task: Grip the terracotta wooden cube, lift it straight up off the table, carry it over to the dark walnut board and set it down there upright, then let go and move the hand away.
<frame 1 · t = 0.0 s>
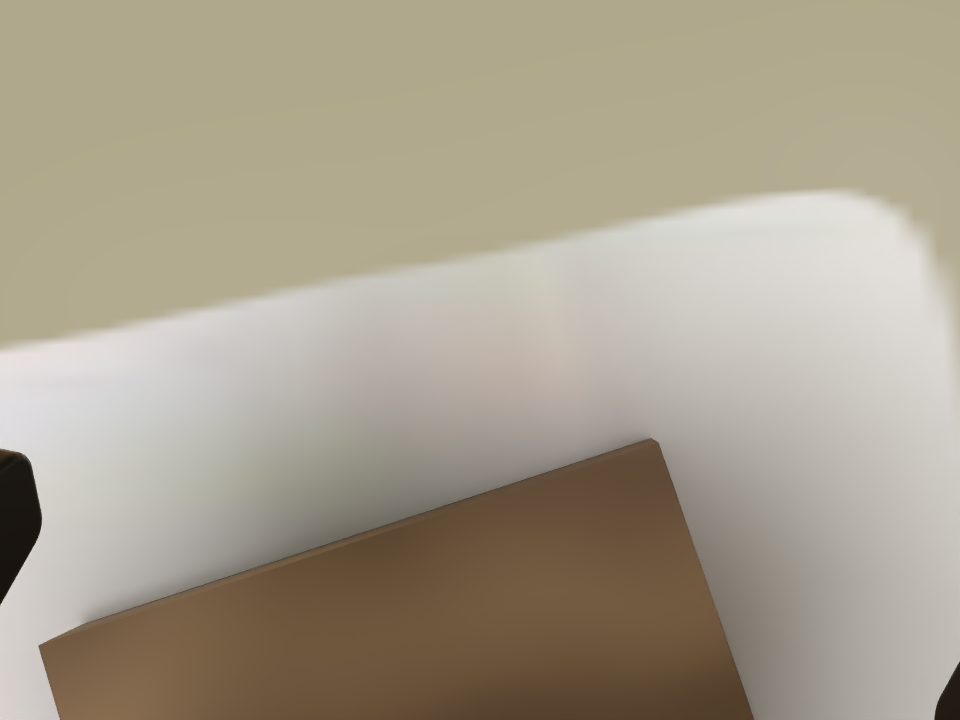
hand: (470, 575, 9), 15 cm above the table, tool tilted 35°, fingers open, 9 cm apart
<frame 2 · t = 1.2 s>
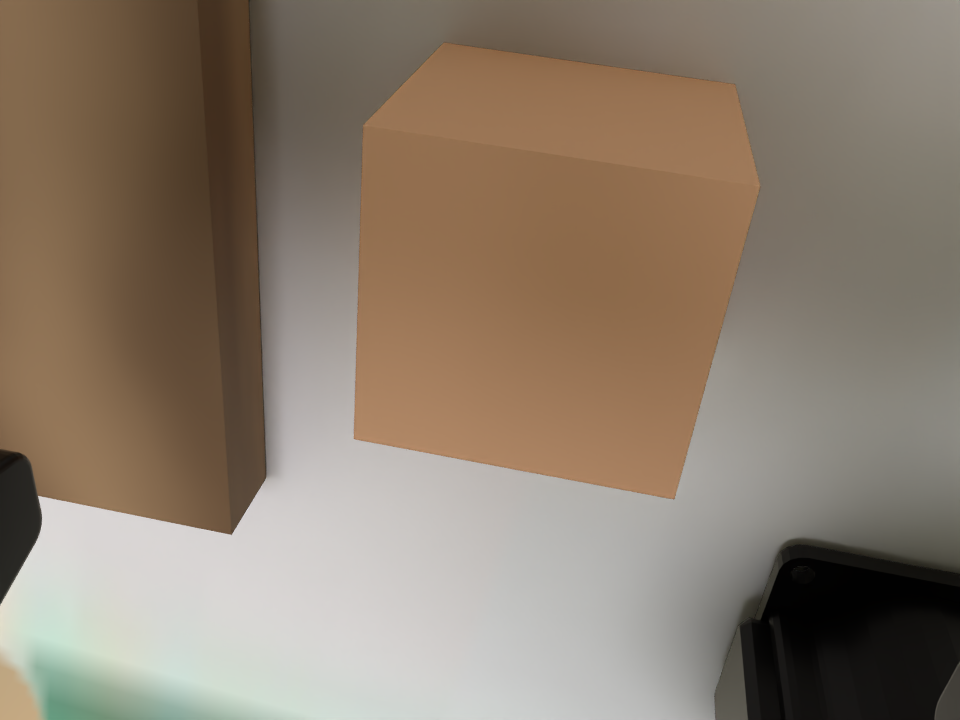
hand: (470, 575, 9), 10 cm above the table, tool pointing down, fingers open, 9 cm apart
terracotta cube: (565, 199, 17), on the table
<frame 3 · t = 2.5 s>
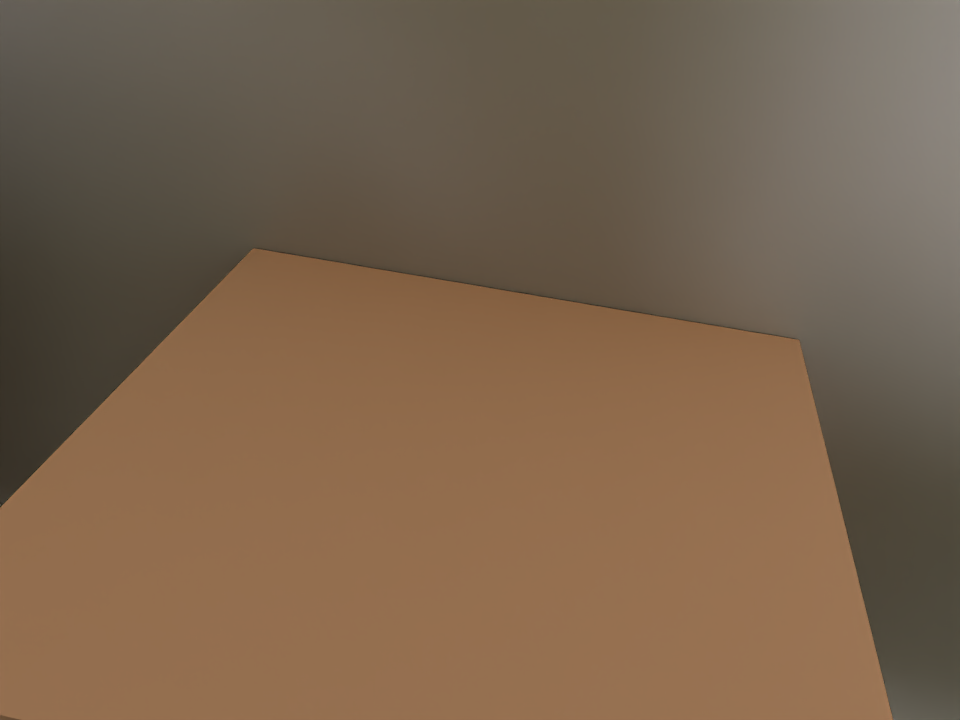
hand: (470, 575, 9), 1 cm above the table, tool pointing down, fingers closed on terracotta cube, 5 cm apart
terracotta cube: (489, 504, 10), on the table, touching gripper
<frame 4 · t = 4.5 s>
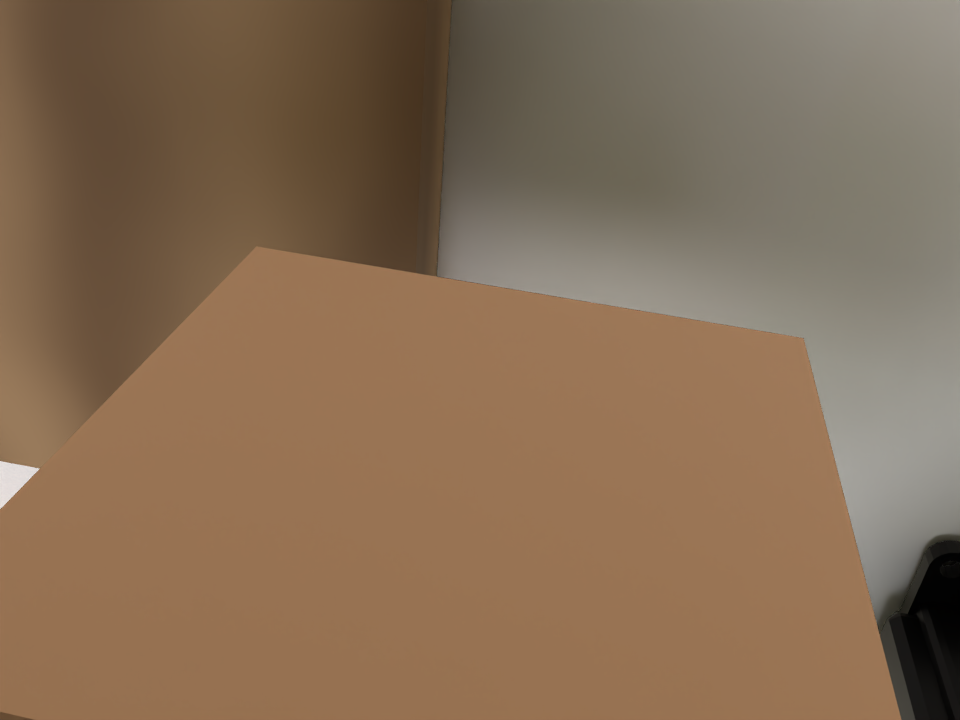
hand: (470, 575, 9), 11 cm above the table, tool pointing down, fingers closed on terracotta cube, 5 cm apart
terracotta cube: (493, 503, 9), point 10 cm above the table, touching gripper
walnut board: (167, 140, 19), on the table
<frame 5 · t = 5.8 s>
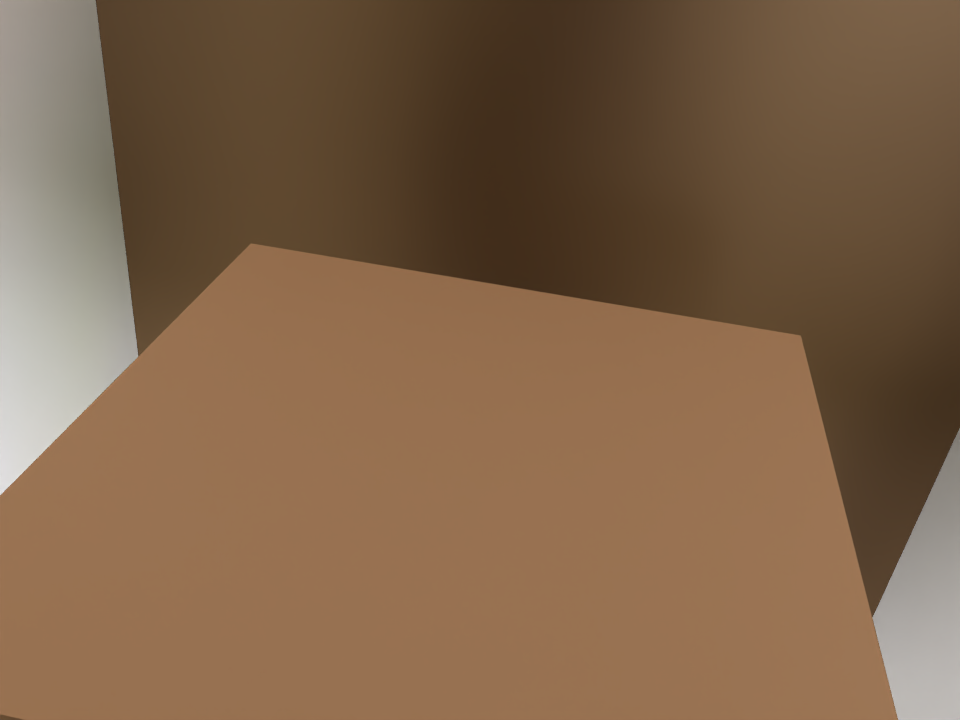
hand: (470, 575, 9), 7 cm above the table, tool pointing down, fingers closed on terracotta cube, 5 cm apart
terracotta cube: (489, 501, 9), point 6 cm above the table, touching gripper
walnut board: (545, 267, 14), on the table
when the fingers open (4 cm above the table, at t = 6.7 s): terracotta cube stays where it is, resting on walnut board.
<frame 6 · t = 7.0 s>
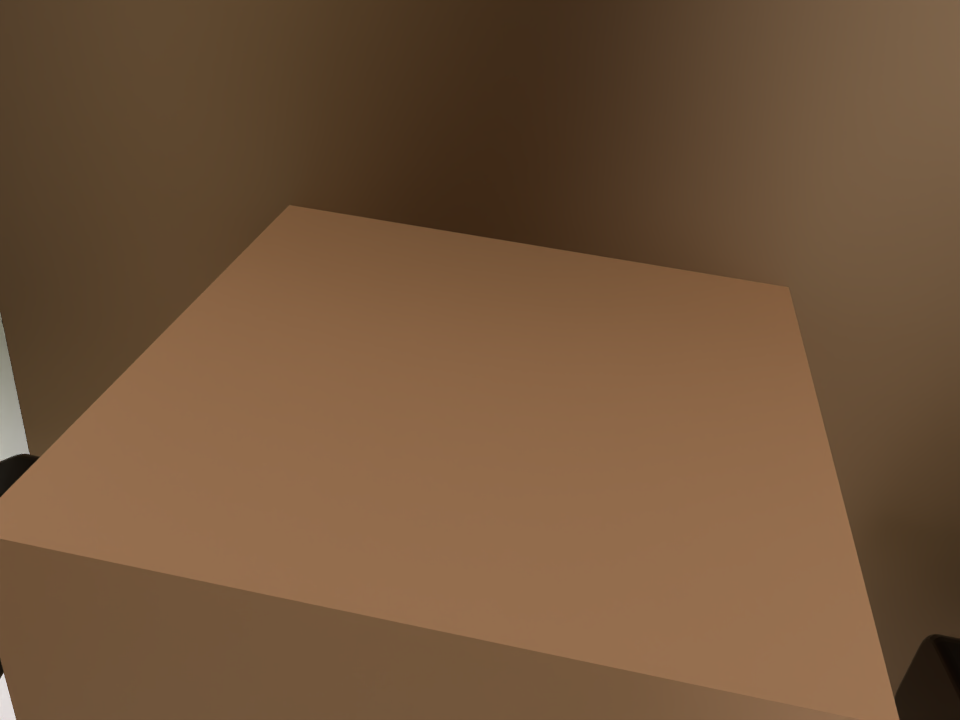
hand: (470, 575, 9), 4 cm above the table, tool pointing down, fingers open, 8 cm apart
terracotta cube: (503, 446, 10), point 2 cm above the table, touching walnut board
walnut board: (524, 361, 12), on the table
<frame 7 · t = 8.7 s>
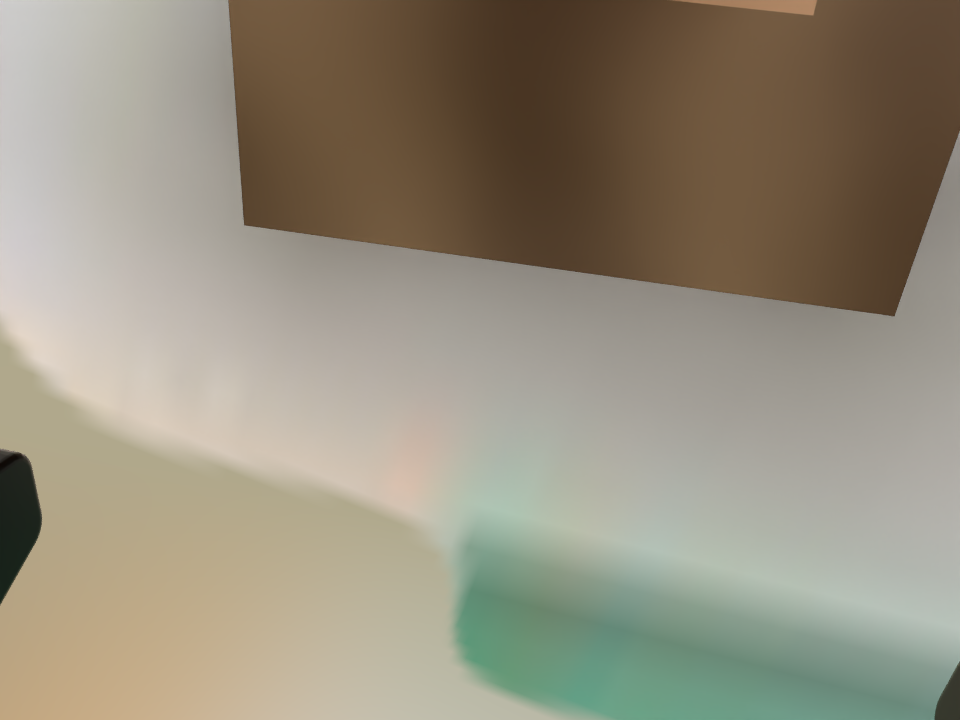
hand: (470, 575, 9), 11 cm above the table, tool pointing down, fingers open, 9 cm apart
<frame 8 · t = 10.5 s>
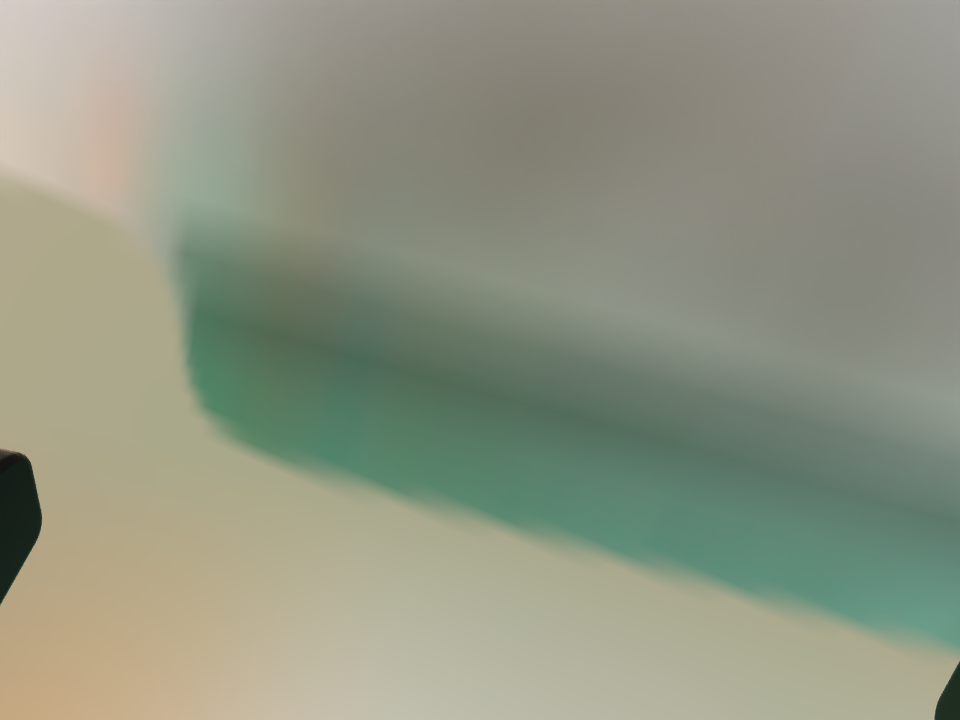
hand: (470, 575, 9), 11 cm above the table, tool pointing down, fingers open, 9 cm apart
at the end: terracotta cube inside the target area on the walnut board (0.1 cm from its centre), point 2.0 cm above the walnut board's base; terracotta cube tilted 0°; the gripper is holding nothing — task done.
